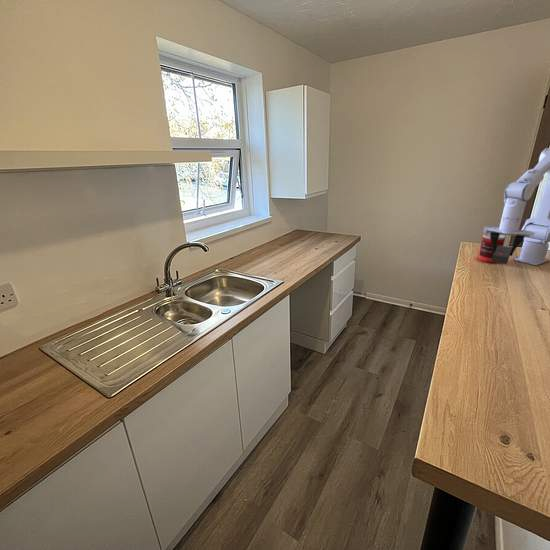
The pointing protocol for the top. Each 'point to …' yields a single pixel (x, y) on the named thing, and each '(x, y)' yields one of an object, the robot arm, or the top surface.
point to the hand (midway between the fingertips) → (502, 253)
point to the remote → (501, 254)
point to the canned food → (488, 247)
